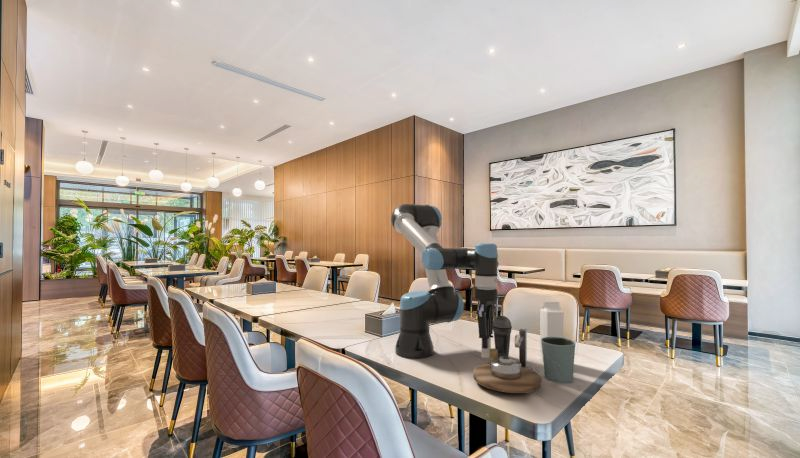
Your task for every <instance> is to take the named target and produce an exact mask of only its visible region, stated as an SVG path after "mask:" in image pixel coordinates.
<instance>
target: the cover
mask: <svg viewBox="0 0 800 458" xmlns="http://www.w3.org/2000/svg"><path fill="white" fill-rule="evenodd" d="M491 374H492V375H493V376H494V377H496V378H499V379H503V380H517V379H520V378H521V363H520V362H519V361H518V360H515V359H514V358H513V357H511V356H509V355H508V356H500V357H499V358H497V359H493V360H492V361H491Z"/></svg>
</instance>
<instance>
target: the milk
mask: <svg viewBox="0 0 800 458" xmlns="http://www.w3.org/2000/svg"><path fill="white" fill-rule="evenodd" d="M539 326H540V327H539V332H540V334H539V337H540V338H539V343H540V344H539V346H540V347H539V348H540V350H539V352H540V353H539V354H540V355H539V357H540V361H541V362H543V353H542V344H541V339H542V338H545V337H561V338H565V337H564V332H565V331H564V311H563V309H562V308H561V306H560V302H559V301H543V306H542V307H541V308H540V309H539Z"/></svg>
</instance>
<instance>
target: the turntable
mask: <svg viewBox="0 0 800 458" xmlns="http://www.w3.org/2000/svg"><path fill="white" fill-rule="evenodd" d="M497 358H498V350H497V349H495V347H493V348H492V347H491V349H490V358H489V362H488V363H484V364H481V365H478V366H475V368H474V369H473V379H474V381H475V382H476V383H478V384H479V385H480V386H482V387H484V388H487V389H489V390H493V391H497V392H502V393H509V394H526V393H532V392H535V391H538V390H539V389H540V388H541V386H542V377H541V375H540V374H539V373H538V372H536V371H535V370H533V369H532V370H530V369H528V368H525V367H522V366H521V378H520V379H517V380H503V379H499V378H496V377H494V376H493V375H492V374H491V361H492V360H493V359H497Z"/></svg>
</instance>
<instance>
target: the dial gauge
mask: <svg viewBox="0 0 800 458" xmlns="http://www.w3.org/2000/svg"><path fill="white" fill-rule="evenodd" d="M527 330H528V329H526V328H525V329H524V328H520V329H519V330H518V331H519V332H518V334H515V336H514V348H517V349H518V351H519V352H518V354H519V355H518V357H519V358H518V359H519V361H518V362H520V363H521V366H522V367H525V368H528V369H530V370H533V367H531V366H527V365H528V364H527V361H528V360H527V359H528V358H527V357H528V356H527V355H528V354H527V353H528V352H527V351H528V349H527V348H528V347H527V345H528V343H527V342H528V341H527V340H528V339H527V336H528V335H527V334H528V333H527Z"/></svg>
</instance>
